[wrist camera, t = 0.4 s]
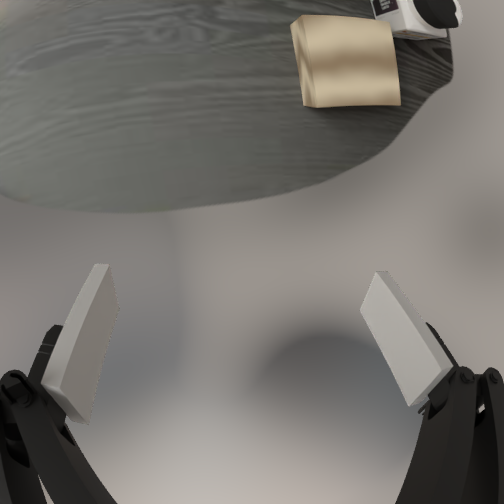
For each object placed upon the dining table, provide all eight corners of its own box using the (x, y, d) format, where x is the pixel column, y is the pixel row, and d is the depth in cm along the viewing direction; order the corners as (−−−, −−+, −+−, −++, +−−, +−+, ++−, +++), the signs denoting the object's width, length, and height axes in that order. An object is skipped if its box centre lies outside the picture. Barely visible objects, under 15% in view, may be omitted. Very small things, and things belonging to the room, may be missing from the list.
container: (378, 36, 28) (434, 25, 17) (367, -7, 24) (417, -30, 13) (417, 40, 28) (474, 37, 17) (406, -1, 24) (460, -14, 13)
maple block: (289, 25, 28) (301, 14, 22) (368, 28, 28) (389, 22, 23) (303, 105, 34) (317, 107, 29) (378, 101, 34) (400, 105, 29)
